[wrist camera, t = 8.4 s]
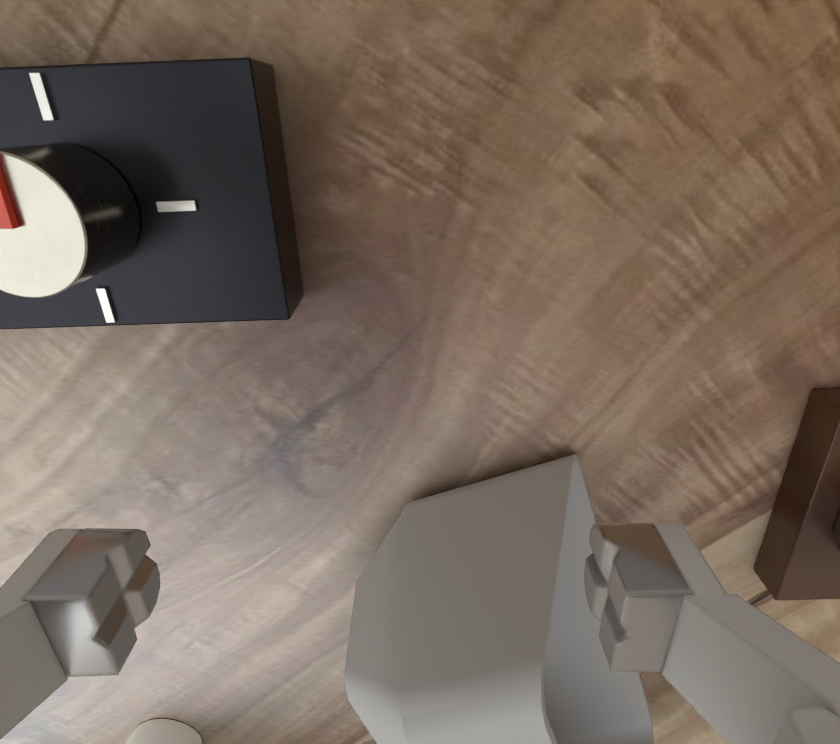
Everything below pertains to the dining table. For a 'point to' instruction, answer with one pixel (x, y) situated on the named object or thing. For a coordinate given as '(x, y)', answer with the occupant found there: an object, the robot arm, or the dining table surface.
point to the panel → (169, 188)
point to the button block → (807, 510)
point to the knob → (61, 218)
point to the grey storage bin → (489, 622)
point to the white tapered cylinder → (164, 733)
